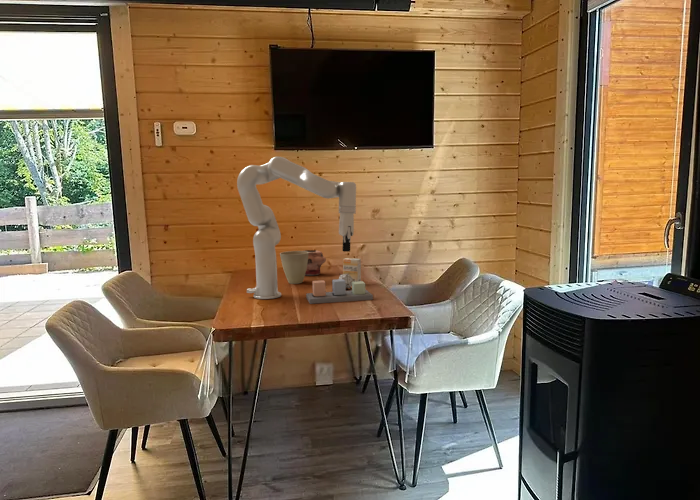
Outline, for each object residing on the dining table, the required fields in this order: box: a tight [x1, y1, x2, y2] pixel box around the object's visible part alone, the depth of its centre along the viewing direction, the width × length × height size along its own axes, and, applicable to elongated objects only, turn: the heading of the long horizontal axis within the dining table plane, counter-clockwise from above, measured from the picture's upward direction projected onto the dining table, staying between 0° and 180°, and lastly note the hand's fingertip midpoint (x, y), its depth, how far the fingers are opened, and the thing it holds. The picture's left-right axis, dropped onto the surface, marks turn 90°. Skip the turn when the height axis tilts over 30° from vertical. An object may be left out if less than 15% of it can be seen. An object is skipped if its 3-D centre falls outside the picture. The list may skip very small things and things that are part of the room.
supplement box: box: [342, 257, 362, 282], centre depth 252 cm, size 8×5×13 cm, turn 68°
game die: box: [338, 272, 355, 290], centre depth 239 cm, size 9×8×10 cm
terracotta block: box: [312, 279, 327, 296], centre depth 217 cm, size 5×5×6 cm
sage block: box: [351, 280, 366, 295], centre depth 221 cm, size 5×5×6 cm
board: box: [305, 289, 374, 305], centre depth 220 cm, size 28×12×2 cm, turn 103°
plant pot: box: [279, 250, 309, 285], centre depth 257 cm, size 15×15×16 cm
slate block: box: [331, 278, 347, 295], centre depth 219 cm, size 5×5×6 cm
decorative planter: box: [304, 249, 327, 276], centre depth 280 cm, size 20×12×14 cm, turn 91°
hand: (346, 251), depth 219 cm, fingers closed
